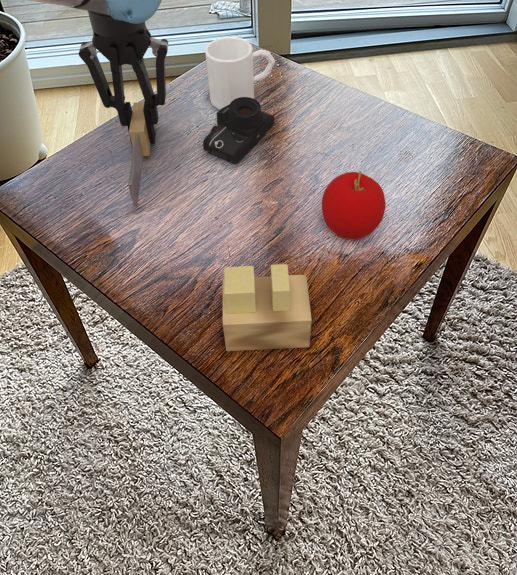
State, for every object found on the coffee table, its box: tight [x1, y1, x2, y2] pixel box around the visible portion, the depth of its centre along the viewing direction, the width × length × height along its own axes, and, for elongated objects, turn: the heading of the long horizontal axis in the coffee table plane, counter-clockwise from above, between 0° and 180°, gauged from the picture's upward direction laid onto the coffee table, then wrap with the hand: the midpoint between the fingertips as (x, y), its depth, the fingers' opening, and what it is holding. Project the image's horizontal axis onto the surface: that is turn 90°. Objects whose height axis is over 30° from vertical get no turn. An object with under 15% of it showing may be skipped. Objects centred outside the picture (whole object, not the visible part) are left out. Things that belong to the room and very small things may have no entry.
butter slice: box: [270, 263, 290, 311], centre depth 68 cm, size 2×4×4 cm, turn 2°
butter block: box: [223, 265, 256, 314], centre depth 68 cm, size 4×4×4 cm
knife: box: [127, 101, 152, 207], centre depth 92 cm, size 20×2×5 cm, turn 2°
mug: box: [204, 36, 276, 110], centre depth 102 cm, size 8×12×10 cm
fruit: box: [321, 170, 386, 240], centre depth 81 cm, size 9×9×10 cm
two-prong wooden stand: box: [222, 274, 313, 352], centre depth 72 cm, size 10×7×6 cm, turn 92°
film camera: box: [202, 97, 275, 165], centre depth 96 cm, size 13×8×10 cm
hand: (143, 139), depth 97 cm, fingers closed on knife, 2 cm apart
